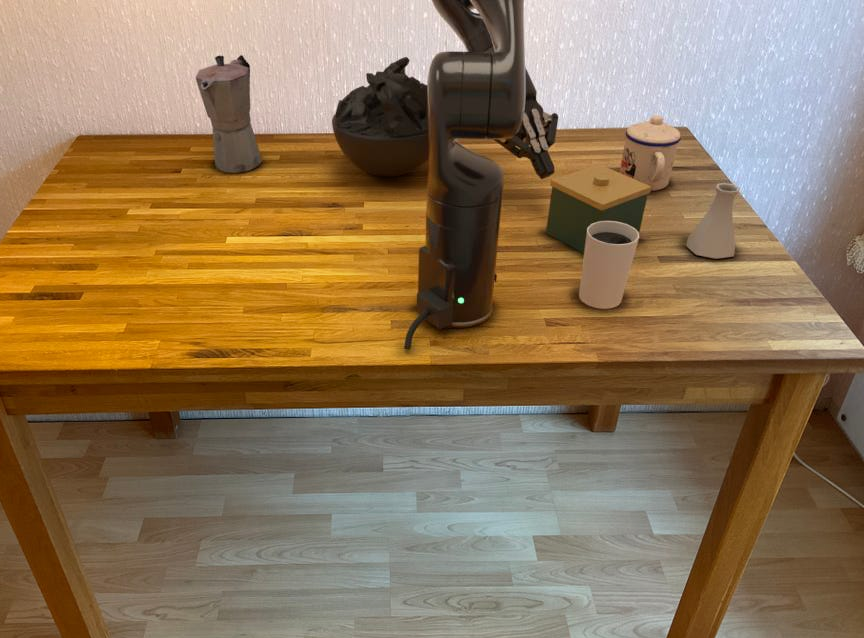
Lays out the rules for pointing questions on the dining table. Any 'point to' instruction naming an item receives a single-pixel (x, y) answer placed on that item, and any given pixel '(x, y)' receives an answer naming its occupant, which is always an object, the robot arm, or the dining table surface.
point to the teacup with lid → (650, 152)
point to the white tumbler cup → (607, 263)
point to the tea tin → (593, 203)
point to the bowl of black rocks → (385, 123)
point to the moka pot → (230, 114)
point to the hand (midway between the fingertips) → (548, 175)
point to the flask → (716, 226)
